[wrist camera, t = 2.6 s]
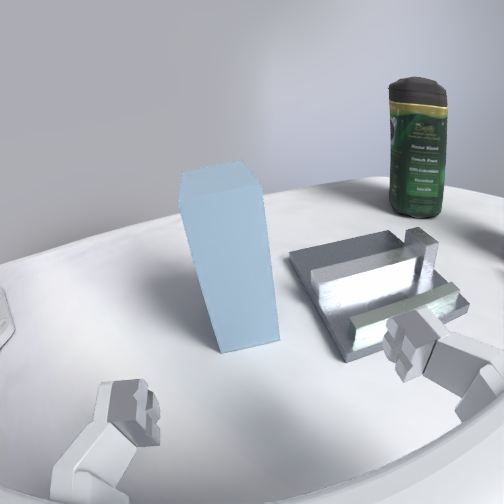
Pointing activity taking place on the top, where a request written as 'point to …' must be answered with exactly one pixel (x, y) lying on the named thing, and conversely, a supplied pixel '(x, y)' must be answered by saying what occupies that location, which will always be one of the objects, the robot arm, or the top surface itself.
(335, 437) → the top surface
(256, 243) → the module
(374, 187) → the top surface
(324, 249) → the rail plate
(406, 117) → the coffee jar
